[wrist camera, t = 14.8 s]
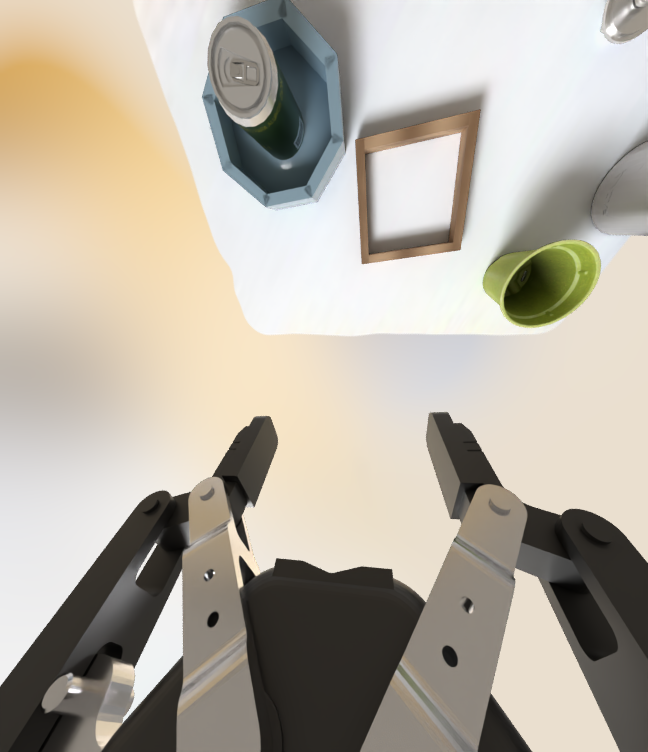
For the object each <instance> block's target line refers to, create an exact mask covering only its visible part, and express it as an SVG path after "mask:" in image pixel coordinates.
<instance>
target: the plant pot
mask: <svg viewBox="0 0 648 752" xmlns="http://www.w3.org/2000/svg"><path fill="white" fill-rule="evenodd" d="M600 269H601V261H600V257H599V254H598V252H597V250H596V249H595V248H594V247H593V246H592V245H590V244H589V243H587V242H584V241H581V240H561V241H557V242H553V243H550V244H548V245H545V246H543V247H541V248H539V249H537V250H530V251H522V252H514V253H509V254H506V255H503V256H502V257H500V258H499V259H498V260H496V261H495V262H494V263H493V264H491V265H490V267H489V268H488V269H487V271H486V273H485V275H484V279H483V288H484V290H485V292H486V293H487V294H488V295H489V296H490V297H491V298H492V299H493V300H494V301H495V302H497V303H498V304H499V305H500V308H501V311H502V313H503V315H504V317H505V318H506V319H507V320H508V321H509V322H511V323H512V324H514V325H516V326H519V327H525V328H535V327H541V326H546V325H549V324H552V323H554V322H556V321H559V320H561V319H563V318H564V317H566V316H568V315H569V314H571V313H572V312H573V311H575V310H576V309H577V308H578V307H579V306H580V305H581V304H582V303H583V302H584V301H585V300H586V299H587V297H588V296H589V295H590V294H591V292H592V290H593V289H594V287H595V285H596V283H597V281H598V279H599V276H600V271H601V270H600ZM525 271H527V273H526V276H525V278H524V280H523V281H521V279H522V277H523V275H524V272H525ZM505 292H506V293H505Z"/></svg>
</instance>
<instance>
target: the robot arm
mask: <svg viewBox="0 0 648 752" xmlns="http://www.w3.org/2000/svg"><path fill="white" fill-rule="evenodd" d="M591 217H592V221H593V224H594V225H595V227H596V228H597V229H598V230H599V231H601V232H602V233H605V234H608V235H644V236H648V141H646V142H645V143H643V144H641V145H639V146H638V147H636V148H635V149H633V150H632V151H631V152H629V153H628V154H627V155H625V156H624V157H623V158H622V159H621V160H620V161H619V162H618V163H617V164H616V165H615V166H614V167H613V168H612V169H611V171H610V172H609V173H608V174H607V175H606V177H605V178H604V180H603V181H602V183H601V184H600V186H599V188H598V190H597V192H596V194H595V197H594V200H593V204H592V210H591ZM426 441H427V447H428V451H429V454H430V457H431V460H432V463H433V466H434V469H435V472H436V475H437V478H438V482H439V485H440V488H441V491H442V494H443V497H444V500H445V503H446V506H447V509H448V512H449V515H450V518H451V519H460V521H461V527H460V529H459V532H458V534H457V536H456V538H455V539H454V541H453V543H452V545H451V547H450V550H449V552H448V554H447V556H446V558H445V561H444V563H443V565H442V568H441V570H440V572H439V575H438V577H437V579H436V582H435V584H434V586H433V588H432V590H431V593H430V595H429V598H428V600H427V602H425V601H424V600H423V599H422V598H421V597H420V596H419V595H418V594H417V593H416V592H415V591H413V590H412V589H411V588H410V587H408V586H407V585H405V584H403V583H402V582H400V581H398V580H396V579H394V578H393V575H392V574H393V573H392V569H382V568H372V567H357V568H353V569H349V570H344V571H340V572H336V573H328V572H326V571H324V570H322V569H319V568H317V567H315V566H313V565H311V564H308V563H306V562H304V561H299V560H298V561H297V560H288V559H278V558H277V559H276V562H275V566H274V568H271V569H269V570H266V571H264V572H262V573H260V570H259V567H258V565H257V562H256V560H255V557H254V554H253V551H252V547H251V543H250V539H249V535H248V531H247V527H246V523H245V520H244V516H243V512H244V510H245V507H255V504H256V501H257V499H258V496H259V494H260V491H261V489H262V486H263V483H264V481H265V478H266V475H267V473H268V470H269V467H270V465H271V462H272V459H273V457H274V454H275V451H276V449H277V445H278V438H277V434H276V431H275V428H274V425H273V423H272V420H271V418H270V417H269V416H257V417H254V418H253V420H252V422H251V424H250V426H246V427H245V428H243V430H241V431H240V432H239V433H238V435H237V436H236V438H235V440H234V441H233V443H232V444H231V446H230V448H229V450H228V451H227V453H226V454H225V456H224V458H223V459H222V461H221V463H220V464H219V466H218V468H217V469H216V471H215V473H214V475H213V476H212V477H210V478H207V479H205V480H203V481H201V482H200V483H199V484H198V485H196V487H195V488H194V489H193V490H192V492H189V493H185V494H181V495H178V496H175V497H172V496H171V495H170V494H169V492H167V491H158V492H155V493H153V494H151V495H149V496H148V497H146V498H145V499H144V500H142V501H141V502H140V503H139V504H138V506H137V507H136V508H135V510H134V511H133V512H132V513H131V515H130V516H129V517H128V519H127V520H126V521H125V523H124V524H123V525H122V527H121V528H120V529H119V531H118V532H117V533H116V535H115V536H114V537H113V538H112V540H111V541H110V542H109V544H108V545H107V546H106V548H105V549H104V550H103V552H102V553H101V554H100V556H99V557H98V558H97V560H96V561H95V562H94V564H93V565H92V566H91V568H90V569H89V570H88V571H87V573H86V574H85V575H84V577H83V578H82V579H81V581H80V582H79V583H78V585H77V586H76V587H75V589H74V590H73V591H72V593H71V594H70V595H69V596H68V598H67V599H66V601H65V602H64V603H63V604H62V606H61V607H60V608H59V610H58V611H57V612H56V614H55V615H54V616H53V618H52V619H51V620H50V622H49V623H48V624H47V626H46V627H45V628H44V629H43V631H42V632H41V633H40V635H39V636H38V637H37V639H36V640H35V642H34V643H33V644H32V645H31V647H30V648H29V649H28V651H27V652H26V653H25V655H24V656H23V657H22V659H21V660H20V661H19V663H18V664H17V665H16V667H15V668H14V669H13V670H12V672H11V673H10V674H9V676H8V677H7V678H6V680H5V681H4V682H3V684H2V685H1V686H0V752H532V751H531V750H530V748H529V747H528V745H527V744H526V742H525V741H524V740H523V738H522V737H521V735H520V734H519V733H518V731H517V730H516V728H515V727H514V725H513V724H512V723H511V721H510V720H509V718H508V717H507V716H506V714H505V713H504V711H503V710H502V708H501V707H500V706H499V704H498V703H497V701H496V700H495V698H494V697H493V696H492V694H491V689H492V684H493V680H494V676H495V671H496V667H497V663H498V658H499V654H500V650H501V645H502V641H503V636H504V632H505V627H506V624H507V619H508V615H509V611H510V606H511V602H512V598H513V593H514V588H515V578H514V570H515V568H517V569H519V570H522V571H524V572H527V573H529V574H532V575H534V576H537V577H538V578H539V580H540V583H541V584H542V587H543V589H544V591H545V593H546V595H547V597H548V600H549V602H550V604H551V606H552V608H553V610H554V612H555V614H556V617H557V619H558V621H559V623H560V625H561V627H562V629H563V631H564V634H565V636H566V638H567V640H568V642H569V644H570V646H571V648H572V651H573V653H574V655H575V657H576V659H577V661H578V663H579V665H580V668H581V670H582V672H583V674H584V676H585V678H586V680H587V682H588V685H589V687H590V689H591V691H592V693H593V695H594V697H595V699H596V701H597V704H598V706H599V708H600V710H601V712H602V714H603V716H604V718H605V721H606V722H607V725H608V727H609V729H610V731H611V733H612V735H613V738H614V740H615V742H616V744H617V746H618V748H619V750H620V752H648V563H647V562H646V560H645V559H644V558H643V557H642V556H641V554H640V553H639V552H638V551H637V550H636V548H635V547H634V546H633V545H632V543H630V541H629V540H628V539H627V537H626V536H625V535H624V534H623V533H622V532H621V531H620V530H619V529H618V528H617V527H615V526H614V525H613V524H612V523H610V522H609V521H607V520H606V519H604V518H602V517H600V516H598V515H596V514H594V513H591V512H588V511H585V510H580V509H569V510H566V511H565V512H564V513H563V514H562V515H558V514H555V513H551V512H548V511H544V510H541V509H538V508H535V507H532V506H529V505H527V504H525V503H523V502H521V500H520V499H519V498H518V497H517V496H516V495H515V494H513V493H512V492H510V491H509V490H507V489H505V488H504V487H503V486H502V484H501V483H500V481H499V479H498V477H497V476H496V474H495V472H494V471H493V469H492V467H491V465H490V463H489V462H488V460H487V458H486V456H485V455H484V453H483V452H482V450H481V448H480V446H479V444H478V443H477V441H476V439H475V437H474V435H473V434H472V432H471V431H470V430H469V429H468V428H466V427H465V426H464V425H463V424H462V423H453V421H452V419H451V417H450V415H449V413H448V412H437V413H436V412H434V413H430V414H429V417H428V426H427V434H426ZM154 543H157V544H158V545H157V546H156V548H155V550H154V552H153V553H152V555H151V557H150V558H149V560H148V561H147V563H146V565H145V566H144V568H143V570H142V571H141V573H140V575H139V577H138V578H137V580H136V575H137V572H138V570H139V568H140V567H141V565H142V563H143V562H144V560H145V558H146V557H147V555H148V553H149V552H150V550H151V548H152V547H153V545H154ZM181 570H182V574H183V576H182V577H183V656H182V657H181V658H180V659H179V661H178V662H177V663H176V664H175V665H174V666H173V667H172V668H171V670H170V671H169V672H168V673H167V674H166V675H165V676H164V677H163V679H162V680H161V681H160V682H159V683H158V684H157V685H156V687H155V688H154V689H153V690H152V691H151V692H150V693H149V694H148V695H147V697H146V698H145V699H144V700H143V701H142V702H141V704H140V705H139V706H138V707H137V708H136V709H135V710H134V711H133V712H132V713H131V715H130V716H129V717H128V718H127V719H126V720H125V721H124V723H123V724H122V722H123V717H124V716H125V715H126V713H127V712H128V711H129V709H130V707H131V705H132V702H133V699H134V690H133V686H134V680H135V673H134V668H135V666H136V664H137V662H138V660H139V658H140V655H141V654H142V651H143V649H144V647H145V645H146V643H147V641H148V639H149V636H150V634H151V633H152V631H153V628H154V626H155V624H156V622H157V620H158V618H159V616H160V614H161V612H162V610H163V607H164V606H165V603H166V601H167V599H168V597H169V595H170V593H171V591H172V589H173V587H174V585H175V583H176V580H177V578H178V576H179V574H180V572H181ZM135 580H136V582H135Z"/></svg>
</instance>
